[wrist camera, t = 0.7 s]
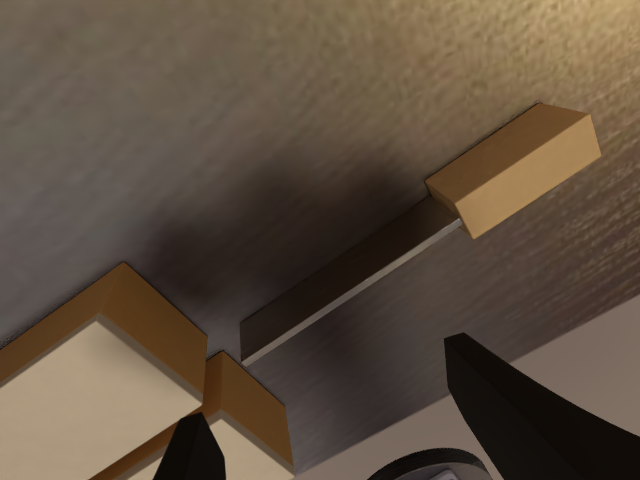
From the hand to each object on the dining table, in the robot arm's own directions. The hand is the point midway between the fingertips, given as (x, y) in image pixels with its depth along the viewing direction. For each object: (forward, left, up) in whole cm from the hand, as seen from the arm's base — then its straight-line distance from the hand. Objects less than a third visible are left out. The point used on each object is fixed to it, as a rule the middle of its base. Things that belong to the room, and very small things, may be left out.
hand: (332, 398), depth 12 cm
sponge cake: (-2, +12, -10) cm, 16 cm away
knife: (-2, -5, -10) cm, 11 cm away
